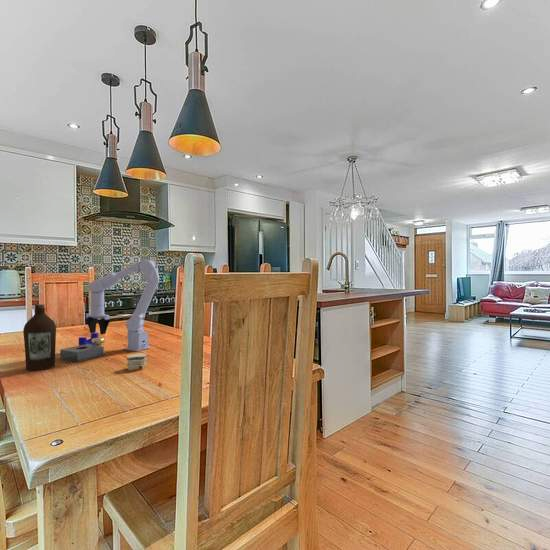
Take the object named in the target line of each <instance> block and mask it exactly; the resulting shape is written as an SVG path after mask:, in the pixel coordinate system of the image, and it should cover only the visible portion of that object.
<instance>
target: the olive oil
mask: <svg viewBox="0 0 550 550" xmlns="http://www.w3.org/2000/svg"><path fill="white" fill-rule="evenodd" d="M22 331H23V332H22V333H23V342H24V343H23V344H24V353H25V369H26V371H31V372H32V371H43V370H46V369H50V368H53V367H54V366H56V343H57V342H56V340H57V338H56V337H57V325H56V322H55V321H54V319H52V318H50V316H49V315H48V314H46V306H45V304H44V303H43V304H35V305H34V315H32V317H30V319H29V320H28V321H27V322H26V323H25V324H24V327H23V330H22Z"/></svg>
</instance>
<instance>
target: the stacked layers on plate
mask: <svg viewBox="0 0 550 550" xmlns="http://www.w3.org/2000/svg"><path fill="white" fill-rule="evenodd" d="M147 355H148V354H146V353H144V352H138V353H132V354H126V357H127V358H126V361H127V363H126V366H127V369H128V371H135V370H140V368H143V367H144V366H146V365H147V364H148V363H147V360H148V357H146V356H147Z"/></svg>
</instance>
